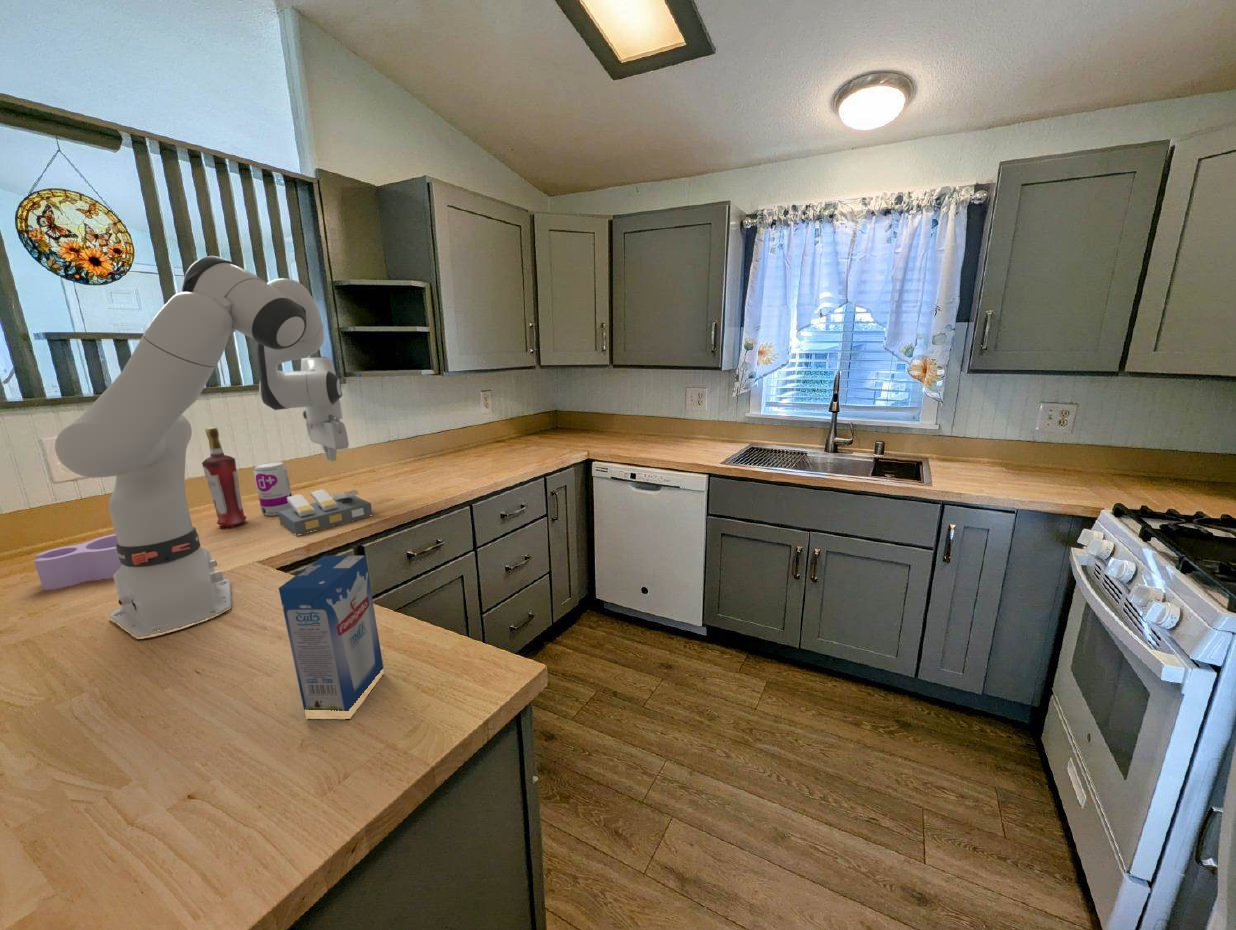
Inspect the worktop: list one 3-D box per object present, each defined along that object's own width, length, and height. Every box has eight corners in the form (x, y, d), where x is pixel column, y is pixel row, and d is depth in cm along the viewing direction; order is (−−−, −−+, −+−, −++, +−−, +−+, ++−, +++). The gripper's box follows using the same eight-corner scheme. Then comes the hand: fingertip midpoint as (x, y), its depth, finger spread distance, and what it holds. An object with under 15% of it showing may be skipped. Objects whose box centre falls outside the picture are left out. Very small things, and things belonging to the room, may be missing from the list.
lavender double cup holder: (41, 596, 107) (31, 566, 105) (46, 578, 116) (37, 549, 114) (166, 566, 120) (159, 538, 119) (162, 551, 129) (155, 525, 127)
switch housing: (373, 516, 151) (370, 500, 149) (297, 536, 136) (293, 519, 135) (353, 506, 160) (351, 491, 159) (280, 524, 146) (277, 508, 144)
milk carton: (345, 673, 80) (324, 555, 75) (384, 673, 79) (365, 554, 74) (305, 720, 70) (278, 588, 65) (350, 720, 70) (325, 587, 65)
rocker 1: (314, 513, 141) (314, 508, 140) (300, 516, 139) (299, 512, 138) (301, 497, 147) (300, 493, 146) (287, 500, 144) (286, 496, 144)
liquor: (212, 526, 146) (190, 429, 139) (242, 518, 151) (222, 425, 144) (222, 531, 142) (199, 431, 135) (252, 523, 147) (232, 427, 140)
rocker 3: (358, 494, 149) (357, 489, 149) (345, 497, 146) (344, 492, 146) (346, 496, 156) (345, 491, 156) (334, 499, 153) (333, 494, 153)
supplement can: (283, 516, 152) (273, 467, 149) (256, 516, 152) (245, 468, 149) (300, 507, 160) (291, 461, 156) (274, 507, 160) (264, 461, 157)
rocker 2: (337, 507, 145) (337, 503, 145) (324, 510, 143) (323, 506, 142) (323, 492, 151) (323, 488, 150) (310, 495, 149) (310, 491, 148)
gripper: (351, 415, 143) (357, 463, 147) (323, 409, 157) (329, 453, 160) (326, 418, 139) (334, 467, 142) (300, 412, 152) (307, 457, 155)
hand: (331, 460), depth 151 cm, fingers closed
